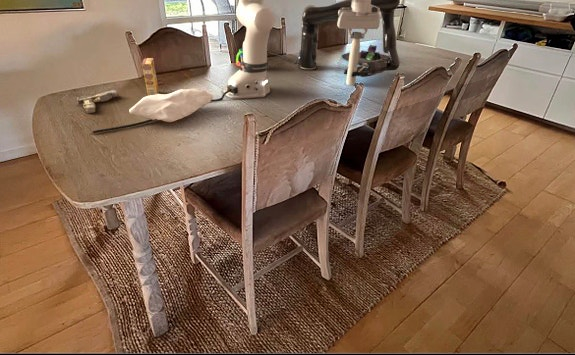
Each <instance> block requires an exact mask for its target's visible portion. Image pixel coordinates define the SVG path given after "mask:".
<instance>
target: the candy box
mask: <svg viewBox="0 0 575 355" xmlns="http://www.w3.org/2000/svg"><path fill="white" fill-rule="evenodd" d="M141 66H142V73H143V78H144V82H145V87H146V92H147V96H150V95H156V94H159V91H160V90H159V84H158V79H157V73H156V66H155V62H154V58H153V57H151V58H150V57H149V58H146V57H145V58H143V60H142V63H141Z"/></svg>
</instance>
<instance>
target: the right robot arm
mask: <svg viewBox="0 0 575 355" xmlns="http://www.w3.org/2000/svg"><path fill="white" fill-rule="evenodd" d="M400 3H401V0H371V4H372V5H374V6H376V7H378V8H380V17H381V22H382V52H383V53H384V54H388V56H389V57H390V58H383V59H380V60H376V61H368V62H364V63H362V64H360V65H358V66H357V71H356V72H352V75H351V76H352V77H355V76H356V77H360V78H367V77H371V76H375V75H378V74H381V73H384V72H389V71H397V70H398V69H399V67H400V64H401V62H400V57H399V53H398V50H397V33H396V28H395V10H397V8H398V7H399V6H400ZM351 4H352V0H342V1H339V2H336V3H333V4H330V5H327V6H315V5H314V4H308V5H307V6H305V7H304V8H303V10H302V14H301V38H300V39H301V41H300V43H301V44H300V49H299V56H298V57H297V60H295V61H292V60H290V59H289V58H286V57H285V56H283V55H281V54H277V53H273V52H271V51H269V50H267V51H268V52H267V53H269V54H270V55H273V56H277V57H280V58H283V60H285V61H288V62H289V63H292V64H298V67H299V68H300V69H301V70H304V71H312V70H316V68H317V56H318V55H317V54H318V43H319V42H318V41H319V24H322V23H325V22H331V21H338V18H339V16H338V12H339V10H340V9H341V8H342V7H351ZM341 10H342V9H341ZM347 72H348V66H347V67H346V69H344V71H343V74H344V75H347Z"/></svg>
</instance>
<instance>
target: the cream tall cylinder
mask: <svg viewBox="0 0 575 355" xmlns="http://www.w3.org/2000/svg"><path fill="white" fill-rule="evenodd" d="M360 40H361V39H354V38H352V41H351V43H350V48H349V53H350V55H349V61H348V65H347V67H348V72H347V74H346V81H345V85H347V86H351V87H352V86H355V85H356V80H357V76H355V77H352V76H351V75H352V72H356V71H357V66H359V65H358V64H359V63H358V59H359V52H361V41H360Z"/></svg>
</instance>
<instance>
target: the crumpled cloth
mask: <svg viewBox="0 0 575 355" xmlns="http://www.w3.org/2000/svg"><path fill="white" fill-rule="evenodd" d="M213 97H214V96H213V94H212V93H210V92H208V91H206V90H203V89H201V88H187V89H186V88H185V89H184V88H183V89H177V90H175V91H173V92H171V93H167V94H163V93H158V94H156V95H150V96H148V95H146V96H144V97H142V98H141V99H140V100H139V101H138V102H137V103H136V104H134V105H133V106H132V107H131V108H129V114H130V115H135V116H140V117H145V118H146V119H148V120H150V119H152V120H155V119H158V121H163V122H166V123H174V122H176V121H178V120H181V119H183V118H185V117H188V116H190V115H192V114H193V113H195V112H196V111H197V110H199V109H200V108H202V107H204V106H206V105H207V104H210V102H212V101H211V100H213V99H214V98H213ZM155 121H156V120H155Z"/></svg>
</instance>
